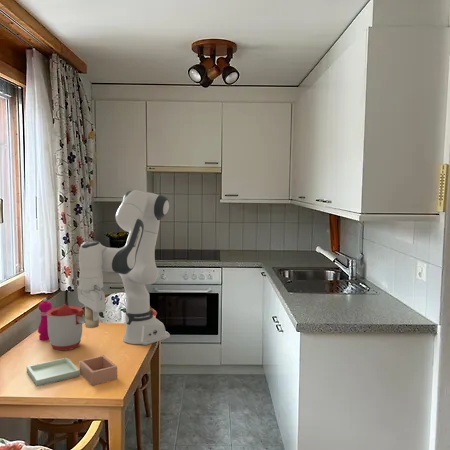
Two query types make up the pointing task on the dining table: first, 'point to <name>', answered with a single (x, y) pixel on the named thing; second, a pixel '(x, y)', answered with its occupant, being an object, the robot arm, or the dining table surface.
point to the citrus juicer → (65, 327)
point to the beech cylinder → (90, 319)
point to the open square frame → (99, 375)
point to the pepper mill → (44, 319)
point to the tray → (52, 371)
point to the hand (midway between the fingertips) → (92, 318)
